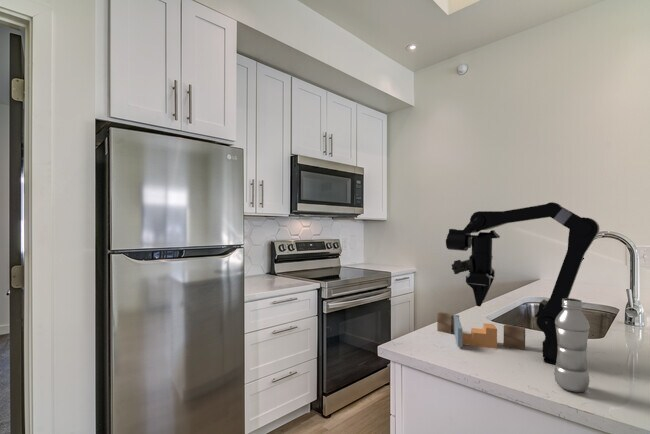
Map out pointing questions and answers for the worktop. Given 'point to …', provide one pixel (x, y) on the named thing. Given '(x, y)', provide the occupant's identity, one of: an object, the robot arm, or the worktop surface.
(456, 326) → the grey piece
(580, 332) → the silver bottle
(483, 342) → the orange stepped block
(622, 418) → the worktop surface
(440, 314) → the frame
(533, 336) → the worktop surface
